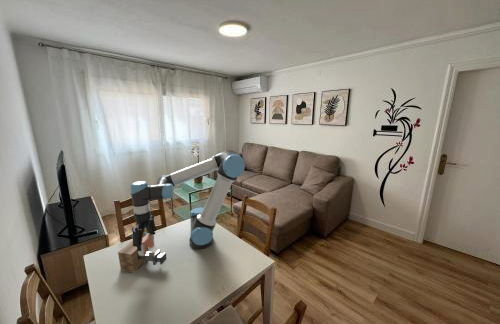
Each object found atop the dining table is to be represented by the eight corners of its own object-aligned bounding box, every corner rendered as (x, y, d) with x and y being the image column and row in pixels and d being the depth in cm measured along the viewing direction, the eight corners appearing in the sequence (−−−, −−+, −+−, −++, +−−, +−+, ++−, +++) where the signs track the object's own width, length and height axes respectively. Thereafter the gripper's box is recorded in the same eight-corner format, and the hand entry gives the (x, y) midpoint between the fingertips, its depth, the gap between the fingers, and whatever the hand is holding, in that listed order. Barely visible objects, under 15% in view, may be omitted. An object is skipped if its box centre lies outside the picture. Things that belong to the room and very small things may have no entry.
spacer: (153, 246, 112) (152, 234, 110) (144, 255, 105) (142, 242, 103) (149, 245, 113) (147, 233, 111) (139, 254, 105) (137, 242, 103)
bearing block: (149, 256, 118) (147, 240, 115) (134, 272, 106) (131, 254, 103) (137, 254, 119) (134, 238, 116) (120, 270, 108) (117, 252, 105)
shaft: (167, 259, 111) (166, 251, 110) (161, 266, 106) (160, 257, 105) (138, 254, 114) (137, 246, 113) (131, 261, 109) (130, 253, 108)
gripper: (148, 202, 114) (152, 237, 119) (119, 220, 94) (126, 262, 99) (160, 203, 112) (164, 239, 118) (133, 222, 93) (139, 264, 98)
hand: (146, 249), depth 109 cm, fingers closed on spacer, 8 cm apart
